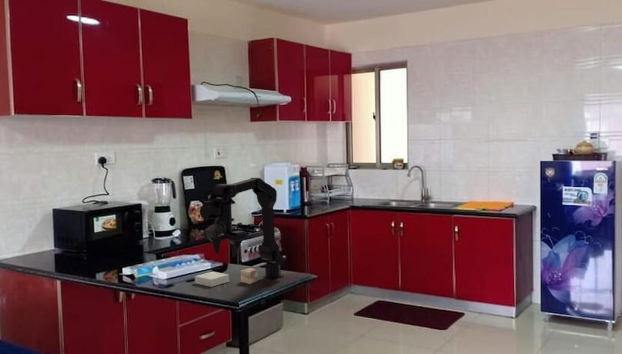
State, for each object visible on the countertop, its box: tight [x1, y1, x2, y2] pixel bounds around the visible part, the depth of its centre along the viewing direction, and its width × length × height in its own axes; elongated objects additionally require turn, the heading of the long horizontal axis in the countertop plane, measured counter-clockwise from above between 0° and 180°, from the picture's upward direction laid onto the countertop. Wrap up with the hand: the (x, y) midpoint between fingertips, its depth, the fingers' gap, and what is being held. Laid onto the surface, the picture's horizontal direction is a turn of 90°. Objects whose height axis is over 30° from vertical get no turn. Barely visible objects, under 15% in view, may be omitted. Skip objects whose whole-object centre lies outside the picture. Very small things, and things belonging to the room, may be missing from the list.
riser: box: [194, 271, 230, 288], centre depth 243 cm, size 10×10×3 cm
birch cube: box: [240, 267, 259, 285], centre depth 244 cm, size 5×5×5 cm
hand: (225, 255), depth 228 cm, fingers open, 9 cm apart
